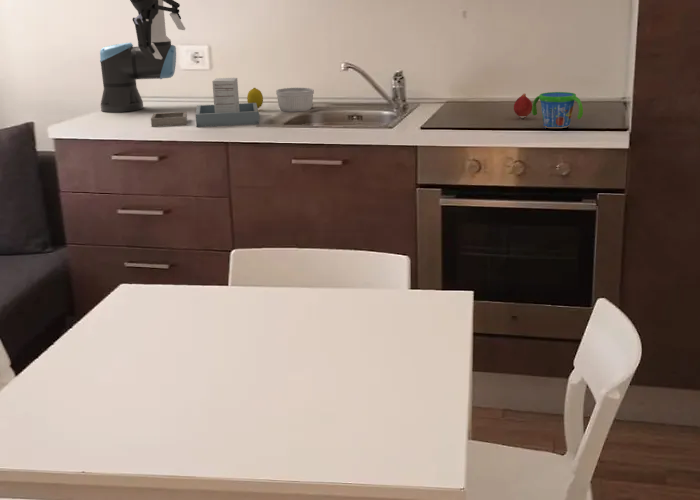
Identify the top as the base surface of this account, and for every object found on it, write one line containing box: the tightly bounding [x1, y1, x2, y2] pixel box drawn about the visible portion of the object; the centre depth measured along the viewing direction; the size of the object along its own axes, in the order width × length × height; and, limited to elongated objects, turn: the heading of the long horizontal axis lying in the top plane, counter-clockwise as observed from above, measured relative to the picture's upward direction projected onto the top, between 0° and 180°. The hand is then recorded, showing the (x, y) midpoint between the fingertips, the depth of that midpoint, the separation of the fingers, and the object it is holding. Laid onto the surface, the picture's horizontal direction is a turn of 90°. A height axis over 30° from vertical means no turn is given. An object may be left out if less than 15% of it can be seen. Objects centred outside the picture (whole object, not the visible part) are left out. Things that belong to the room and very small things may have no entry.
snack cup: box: [531, 91, 584, 127], centre depth 261 cm, size 16×10×10 cm
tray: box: [195, 102, 260, 128], centre depth 292 cm, size 20×20×4 cm
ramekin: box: [275, 87, 315, 113], centre depth 310 cm, size 13×13×7 cm
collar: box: [150, 111, 188, 127], centre depth 291 cm, size 11×11×2 cm
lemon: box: [246, 87, 264, 109], centre depth 310 cm, size 6×6×8 cm
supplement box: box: [212, 77, 240, 113], centre depth 290 cm, size 7×7×13 cm
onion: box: [513, 93, 533, 117], centre depth 279 cm, size 6×6×8 cm
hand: (170, 43), depth 289 cm, fingers open, 13 cm apart
